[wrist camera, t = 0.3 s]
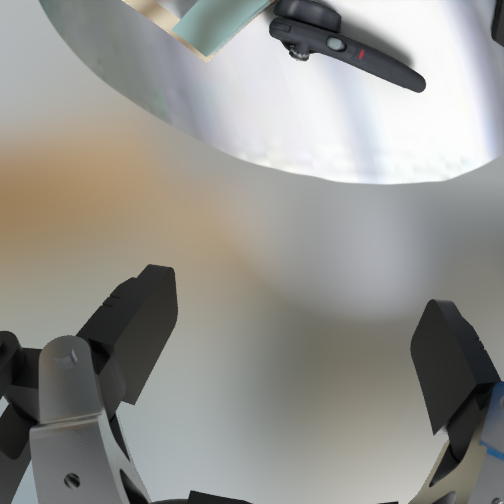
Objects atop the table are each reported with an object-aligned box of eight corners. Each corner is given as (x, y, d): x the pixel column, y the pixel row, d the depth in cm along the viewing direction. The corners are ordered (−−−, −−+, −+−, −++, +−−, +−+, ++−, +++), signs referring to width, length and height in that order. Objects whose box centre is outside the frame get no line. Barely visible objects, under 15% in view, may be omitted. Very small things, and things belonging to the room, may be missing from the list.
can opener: (261, 43, 27) (255, 49, 23) (282, -9, 22) (280, -14, 18) (401, 107, 30) (417, 123, 26) (427, 61, 25) (447, 72, 21)
